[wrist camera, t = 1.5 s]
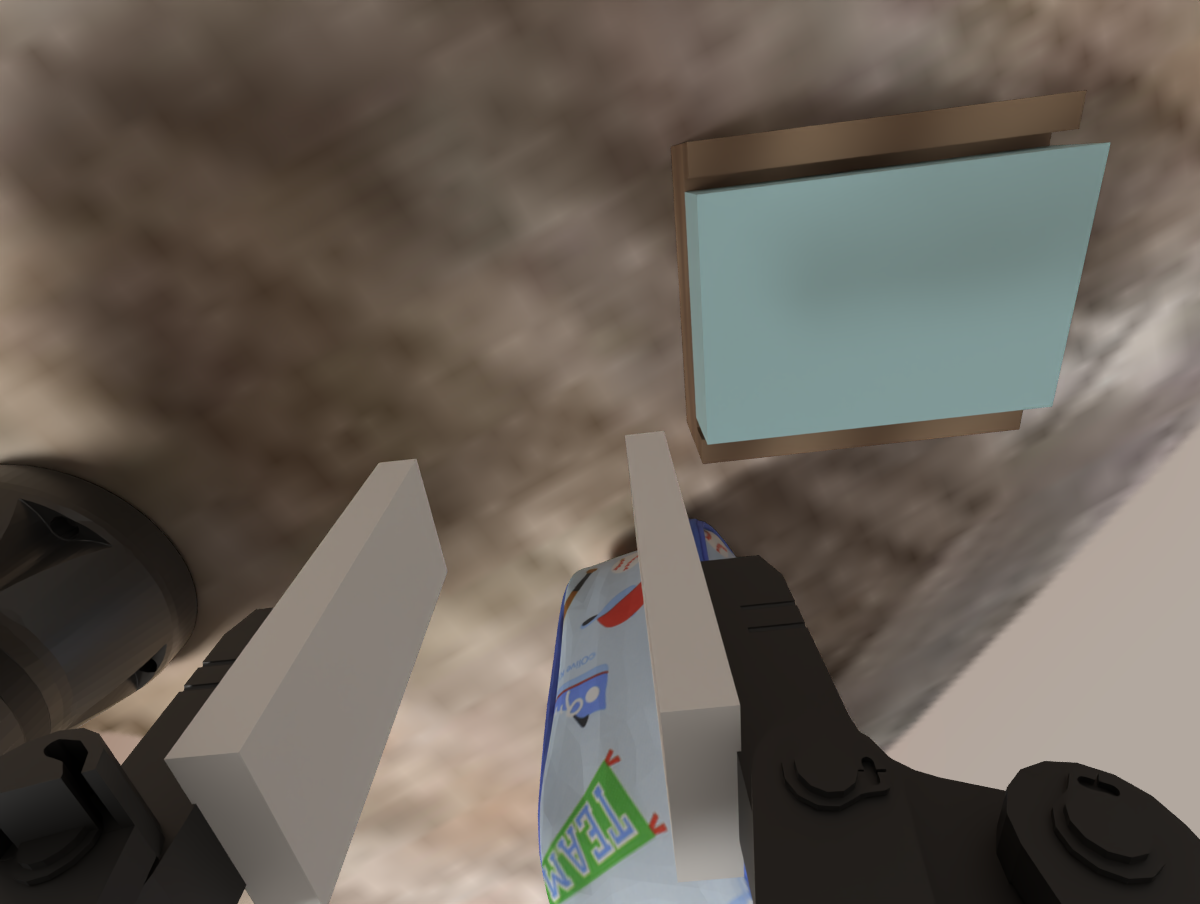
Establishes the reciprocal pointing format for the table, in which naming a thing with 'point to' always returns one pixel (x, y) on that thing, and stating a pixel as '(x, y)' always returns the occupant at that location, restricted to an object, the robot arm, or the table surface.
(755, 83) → the table surface
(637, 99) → the table surface
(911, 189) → the teal rectangular block
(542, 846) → the lunch box
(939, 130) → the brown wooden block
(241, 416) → the table surface
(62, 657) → the robot arm
